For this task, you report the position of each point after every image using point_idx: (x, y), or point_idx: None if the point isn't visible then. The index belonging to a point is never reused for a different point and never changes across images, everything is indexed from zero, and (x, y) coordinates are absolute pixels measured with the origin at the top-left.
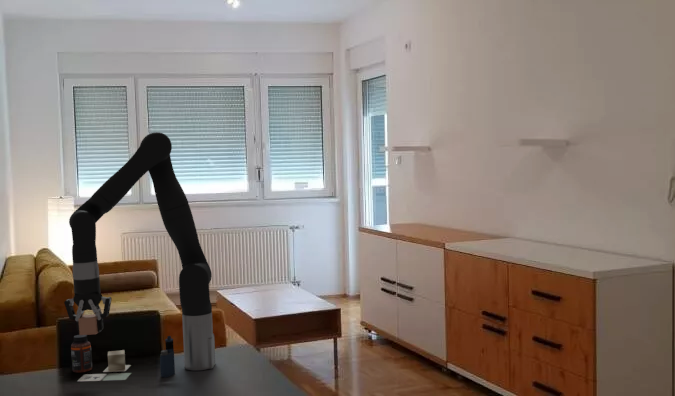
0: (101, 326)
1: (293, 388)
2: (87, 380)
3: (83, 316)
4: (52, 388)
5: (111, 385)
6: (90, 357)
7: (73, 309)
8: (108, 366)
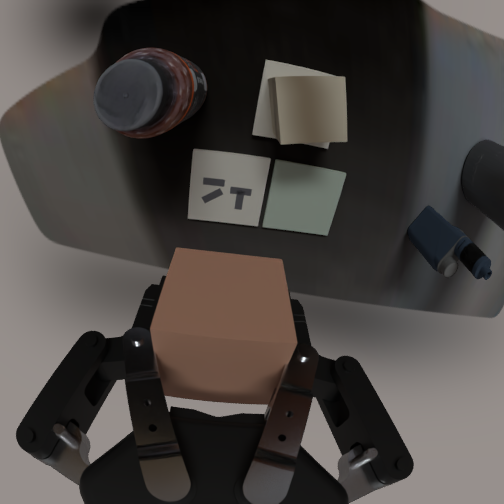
0: None
1: (499, 312)
2: (218, 216)
3: (172, 367)
4: (138, 249)
5: (290, 259)
6: (199, 98)
7: (80, 389)
8: (275, 136)
